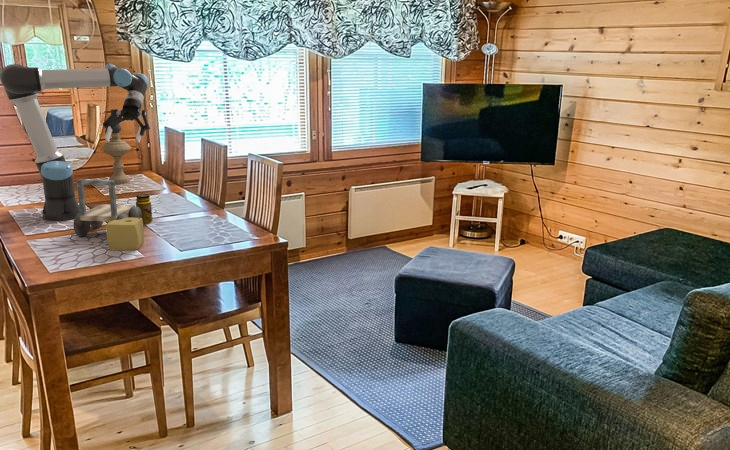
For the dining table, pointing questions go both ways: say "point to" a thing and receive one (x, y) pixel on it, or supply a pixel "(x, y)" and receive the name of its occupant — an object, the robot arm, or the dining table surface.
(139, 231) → the cheese
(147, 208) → the condiment
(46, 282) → the dining table surface
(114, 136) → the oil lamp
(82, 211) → the trolley
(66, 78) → the robot arm
